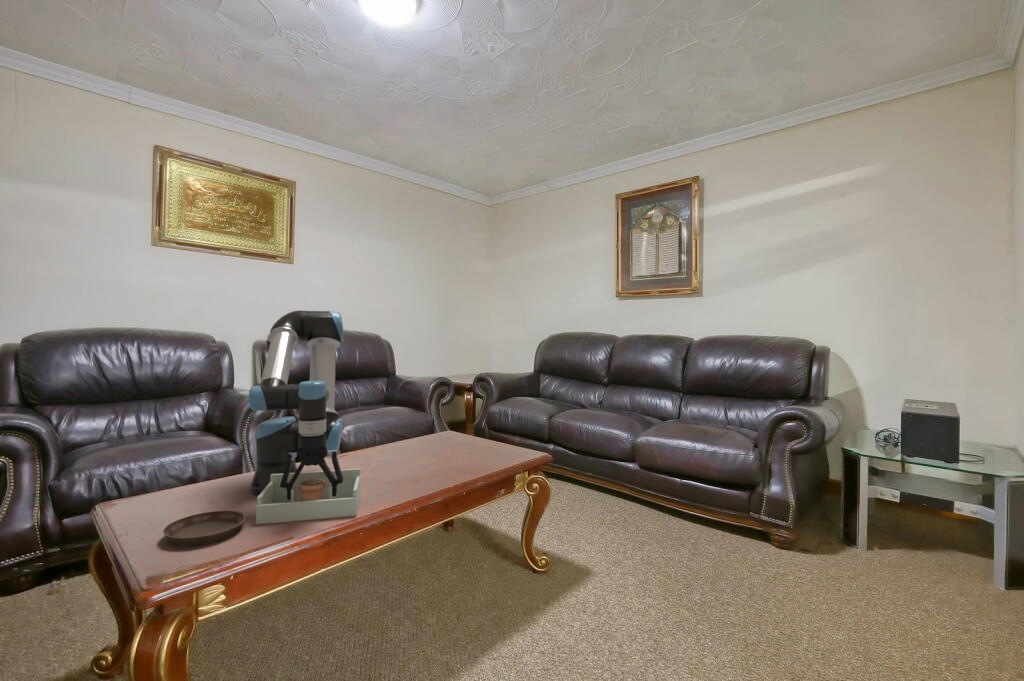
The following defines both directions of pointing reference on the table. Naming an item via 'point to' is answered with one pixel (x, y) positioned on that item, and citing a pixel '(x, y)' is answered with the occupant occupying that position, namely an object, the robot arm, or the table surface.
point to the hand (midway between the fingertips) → (312, 508)
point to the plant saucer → (203, 527)
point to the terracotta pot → (312, 489)
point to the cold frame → (281, 509)
